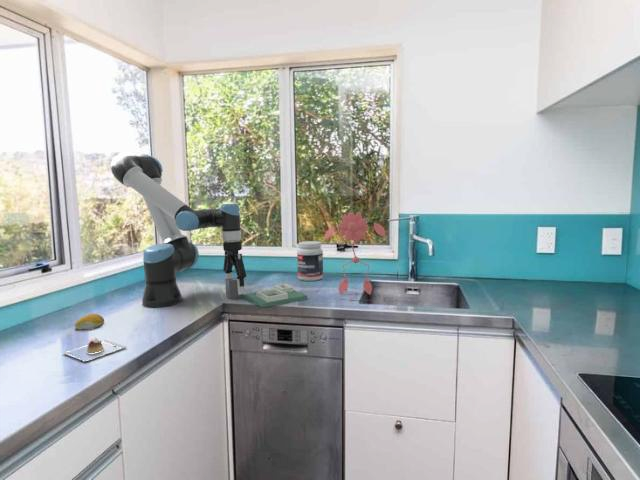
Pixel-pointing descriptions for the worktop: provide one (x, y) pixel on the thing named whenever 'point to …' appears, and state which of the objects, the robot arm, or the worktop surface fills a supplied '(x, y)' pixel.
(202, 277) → the worktop surface
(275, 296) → the board
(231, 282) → the plug
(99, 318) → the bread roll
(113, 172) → the robot arm
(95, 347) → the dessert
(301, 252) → the supplement tub
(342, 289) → the pink flower sprig
